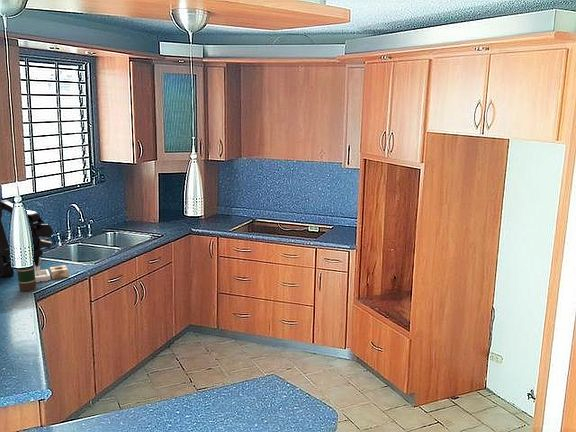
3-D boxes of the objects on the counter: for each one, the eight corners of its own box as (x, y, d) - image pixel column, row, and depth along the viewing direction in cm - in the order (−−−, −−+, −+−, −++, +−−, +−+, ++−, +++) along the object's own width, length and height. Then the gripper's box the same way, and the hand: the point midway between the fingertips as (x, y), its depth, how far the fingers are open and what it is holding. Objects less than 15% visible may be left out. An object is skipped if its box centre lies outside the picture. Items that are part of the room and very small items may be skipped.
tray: (27, 283, 297) (27, 279, 296) (26, 276, 309) (25, 272, 309) (50, 280, 302) (50, 275, 301) (48, 273, 314) (47, 269, 314)
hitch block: (52, 278, 304) (51, 271, 303) (50, 274, 313) (49, 267, 312) (68, 276, 307) (67, 269, 307) (66, 272, 316) (65, 265, 316)
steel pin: (33, 276, 302) (31, 260, 301) (33, 274, 306) (31, 258, 304) (42, 275, 304) (40, 259, 302) (42, 273, 308) (40, 257, 306)
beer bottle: (35, 286, 292) (30, 240, 288) (37, 290, 286) (31, 243, 281) (18, 288, 289) (13, 242, 284) (20, 293, 282) (14, 245, 277)
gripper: (51, 237, 296) (54, 267, 299) (48, 231, 313) (51, 258, 316) (28, 240, 292) (31, 270, 295) (26, 233, 308) (29, 261, 311)
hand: (36, 265), depth 304 cm, fingers closed on steel pin, 4 cm apart
